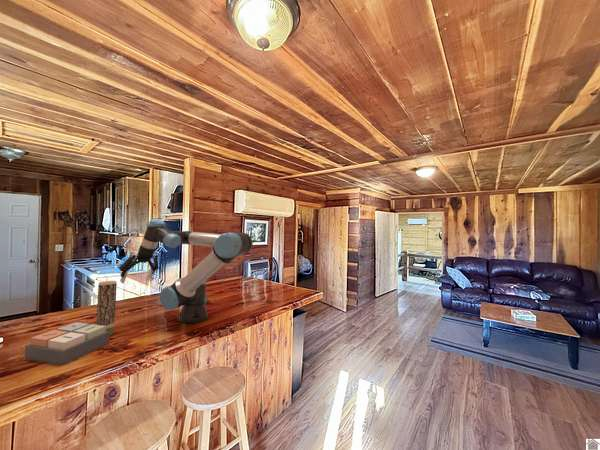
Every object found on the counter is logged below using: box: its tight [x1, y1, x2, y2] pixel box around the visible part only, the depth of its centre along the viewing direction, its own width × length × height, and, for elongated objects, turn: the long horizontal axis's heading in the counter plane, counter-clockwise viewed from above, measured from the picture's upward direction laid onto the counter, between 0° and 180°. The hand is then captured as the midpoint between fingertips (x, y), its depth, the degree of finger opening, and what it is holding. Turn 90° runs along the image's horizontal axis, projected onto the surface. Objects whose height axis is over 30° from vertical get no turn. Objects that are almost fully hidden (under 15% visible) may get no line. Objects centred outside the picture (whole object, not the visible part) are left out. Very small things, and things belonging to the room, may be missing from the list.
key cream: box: [48, 332, 85, 351], centre depth 95 cm, size 8×8×3 cm
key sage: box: [74, 323, 106, 340], centre depth 104 cm, size 8×8×3 cm
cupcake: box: [205, 291, 210, 304], centre depth 170 cm, size 9×8×12 cm
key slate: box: [56, 321, 91, 333], centre depth 105 cm, size 8×8×3 cm
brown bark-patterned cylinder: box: [95, 280, 118, 337], centre depth 115 cm, size 7×7×25 cm
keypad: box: [24, 331, 110, 366], centre depth 100 cm, size 18×18×5 cm
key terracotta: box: [29, 329, 68, 348], centre depth 97 cm, size 8×8×3 cm
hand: (135, 281), depth 135 cm, fingers open, 13 cm apart
